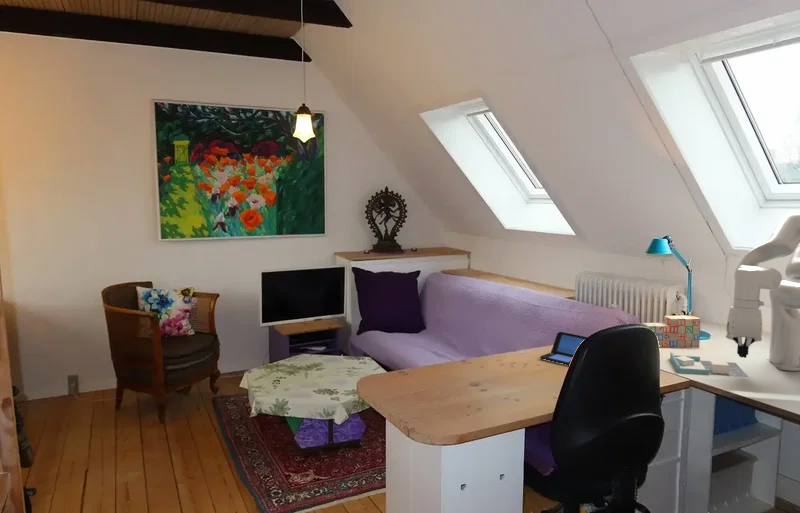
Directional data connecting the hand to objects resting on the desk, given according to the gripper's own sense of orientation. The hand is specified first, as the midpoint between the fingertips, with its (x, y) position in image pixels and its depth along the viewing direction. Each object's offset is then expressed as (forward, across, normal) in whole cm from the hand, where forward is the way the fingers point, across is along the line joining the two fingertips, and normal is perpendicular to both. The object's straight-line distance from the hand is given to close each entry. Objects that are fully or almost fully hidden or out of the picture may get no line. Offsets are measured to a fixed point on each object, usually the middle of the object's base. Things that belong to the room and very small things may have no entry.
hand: (742, 356), depth 202 cm
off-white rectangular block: (+6, +7, -1) cm, 9 cm away
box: (+8, +16, -5) cm, 18 cm away
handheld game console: (+9, +58, -9) cm, 60 cm away
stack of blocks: (+7, +17, -40) cm, 44 cm away
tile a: (+7, +17, -9) cm, 20 cm away
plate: (+8, +5, -5) cm, 10 cm away
